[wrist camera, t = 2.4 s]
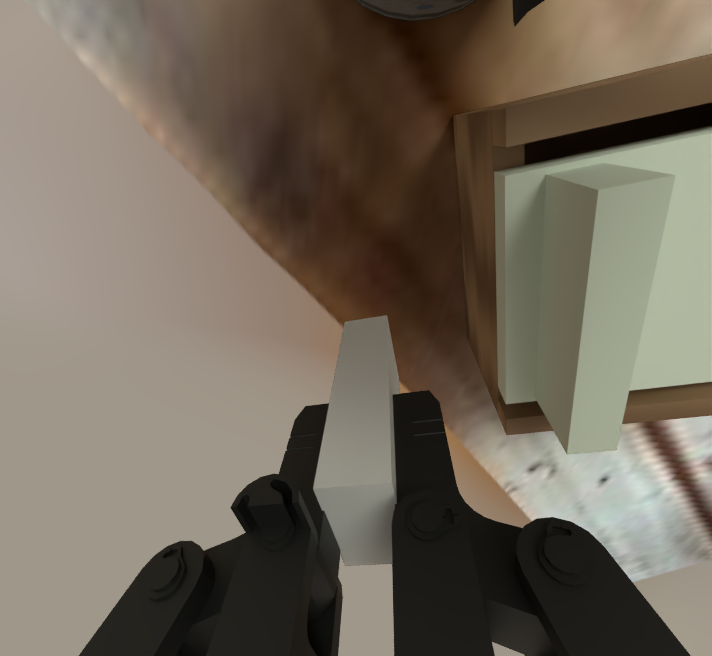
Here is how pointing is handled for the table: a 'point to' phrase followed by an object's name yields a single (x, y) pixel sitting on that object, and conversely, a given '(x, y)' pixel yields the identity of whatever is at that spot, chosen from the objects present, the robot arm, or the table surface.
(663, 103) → the box
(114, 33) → the table surface
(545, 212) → the lid
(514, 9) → the beverage bottle
